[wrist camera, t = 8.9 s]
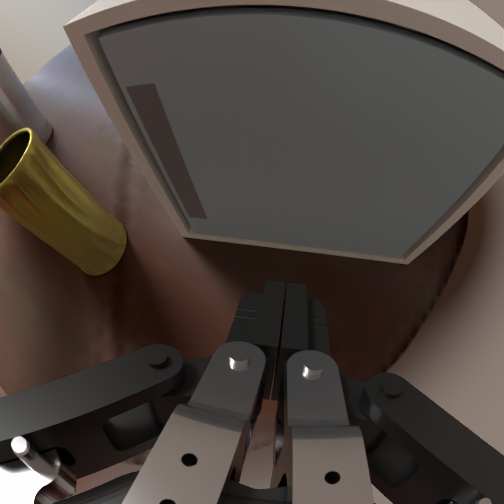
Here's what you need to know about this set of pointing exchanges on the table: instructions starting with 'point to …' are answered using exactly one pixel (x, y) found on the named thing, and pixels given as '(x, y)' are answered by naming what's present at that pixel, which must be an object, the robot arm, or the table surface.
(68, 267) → the table surface
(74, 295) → the table surface
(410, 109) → the door
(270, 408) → the table surface
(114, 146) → the table surface
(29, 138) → the vase
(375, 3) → the housing
